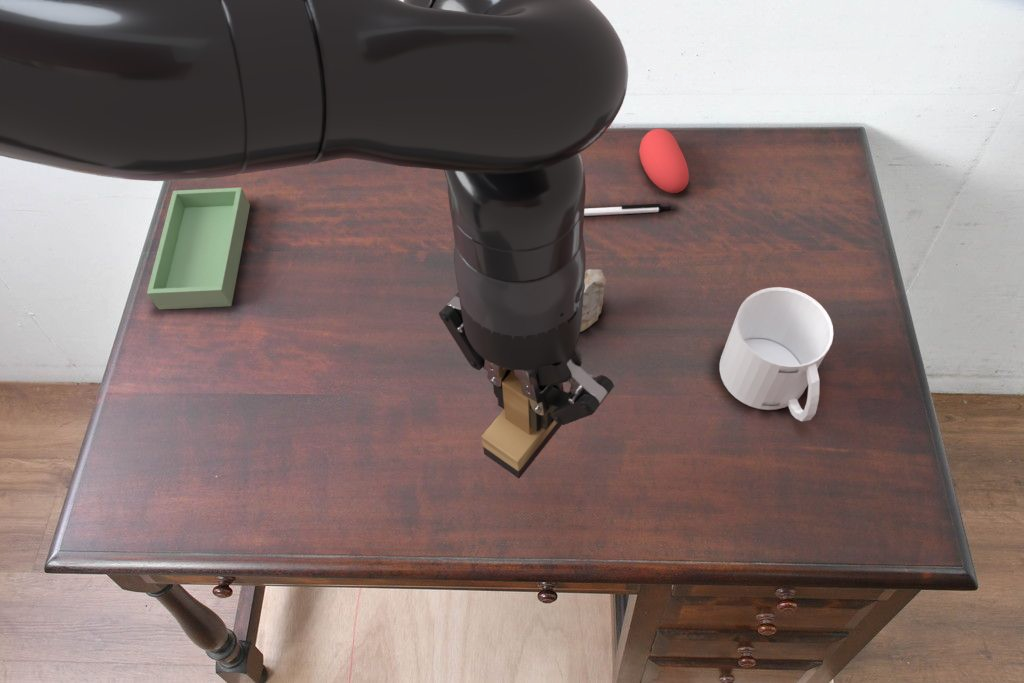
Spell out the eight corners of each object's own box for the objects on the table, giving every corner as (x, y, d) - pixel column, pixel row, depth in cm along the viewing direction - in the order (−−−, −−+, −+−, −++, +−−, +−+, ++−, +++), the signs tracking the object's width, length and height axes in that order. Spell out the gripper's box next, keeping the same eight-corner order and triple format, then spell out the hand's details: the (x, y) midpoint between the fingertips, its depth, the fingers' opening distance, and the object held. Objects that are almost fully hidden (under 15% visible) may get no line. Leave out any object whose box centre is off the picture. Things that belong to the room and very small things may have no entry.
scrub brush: (519, 478, 64) (515, 428, 55) (483, 454, 65) (475, 400, 57) (569, 415, 66) (573, 358, 58) (534, 392, 68) (533, 333, 59)
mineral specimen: (572, 273, 92) (574, 238, 86) (612, 314, 89) (616, 281, 83) (482, 328, 88) (478, 296, 83) (520, 373, 85) (518, 343, 80)
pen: (670, 213, 96) (671, 206, 95) (512, 221, 96) (512, 215, 95) (669, 207, 96) (670, 201, 96) (512, 215, 97) (512, 209, 96)
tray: (231, 306, 91) (221, 289, 88) (158, 309, 91) (146, 293, 88) (250, 205, 99) (241, 187, 96) (183, 208, 99) (172, 190, 96)
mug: (708, 343, 86) (724, 294, 78) (789, 331, 87) (813, 281, 79) (741, 444, 80) (763, 401, 72) (828, 430, 80) (860, 386, 72)
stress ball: (633, 202, 99) (659, 183, 93) (628, 133, 100) (653, 111, 94) (669, 205, 101) (697, 187, 95) (664, 138, 102) (690, 116, 96)
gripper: (390, 266, 48) (427, 398, 63) (581, 386, 43) (572, 498, 58) (468, 189, 51) (485, 332, 66) (655, 293, 46) (628, 422, 61)
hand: (526, 409), depth 62 cm, fingers closed on scrub brush, 2 cm apart
